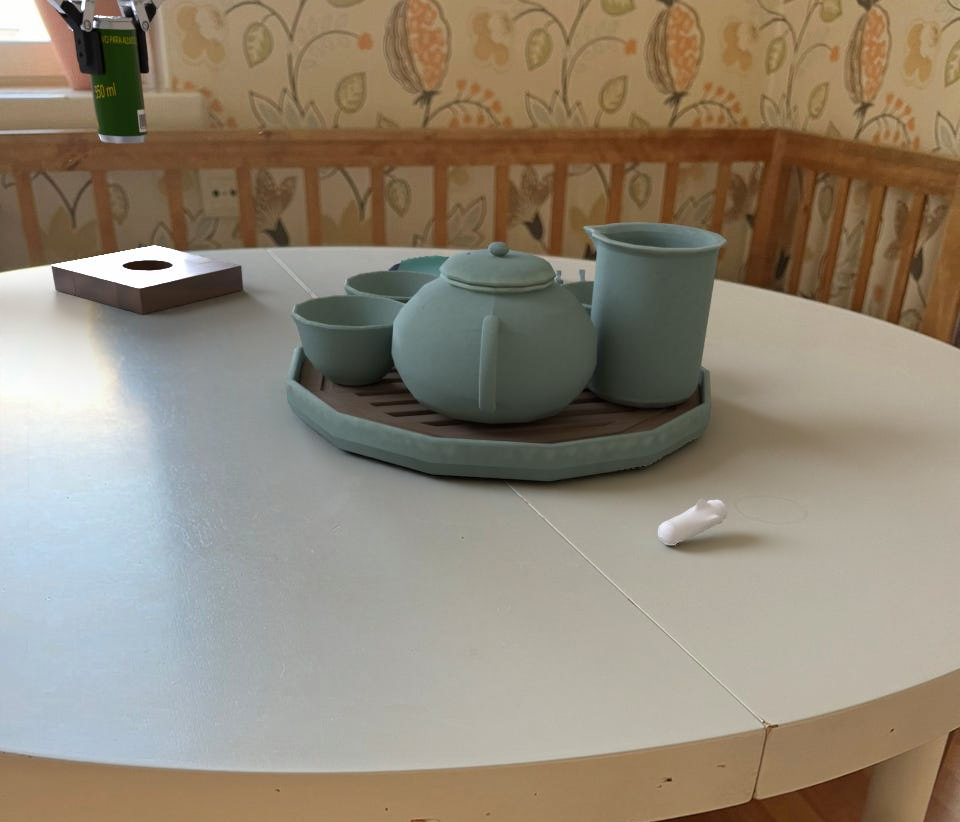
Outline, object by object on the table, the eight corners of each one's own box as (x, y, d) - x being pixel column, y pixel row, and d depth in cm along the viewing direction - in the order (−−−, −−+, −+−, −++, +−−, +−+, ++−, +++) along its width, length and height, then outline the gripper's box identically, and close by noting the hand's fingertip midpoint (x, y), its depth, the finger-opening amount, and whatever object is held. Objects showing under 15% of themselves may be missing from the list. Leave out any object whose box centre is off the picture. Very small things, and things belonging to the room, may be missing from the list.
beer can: (152, 138, 120) (139, 17, 114) (143, 144, 116) (129, 18, 109) (104, 136, 120) (88, 14, 113) (93, 142, 115) (76, 16, 109)
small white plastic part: (640, 529, 78) (645, 490, 76) (717, 528, 79) (724, 490, 77) (652, 551, 75) (658, 511, 73) (732, 549, 76) (740, 510, 74)
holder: (55, 290, 128) (50, 264, 127) (157, 269, 140) (155, 245, 138) (142, 314, 121) (139, 288, 119) (243, 290, 132) (241, 265, 131)
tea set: (602, 335, 122) (618, 182, 113) (789, 466, 90) (831, 267, 81) (257, 353, 110) (245, 185, 102) (330, 510, 78) (322, 284, 70)
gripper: (135, -123, 112) (155, 68, 122) (-10, -142, 100) (24, 72, 110) (182, -123, 109) (199, 74, 119) (37, -143, 97) (69, 78, 106)
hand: (114, 71), depth 114 cm, fingers closed on beer can, 5 cm apart
